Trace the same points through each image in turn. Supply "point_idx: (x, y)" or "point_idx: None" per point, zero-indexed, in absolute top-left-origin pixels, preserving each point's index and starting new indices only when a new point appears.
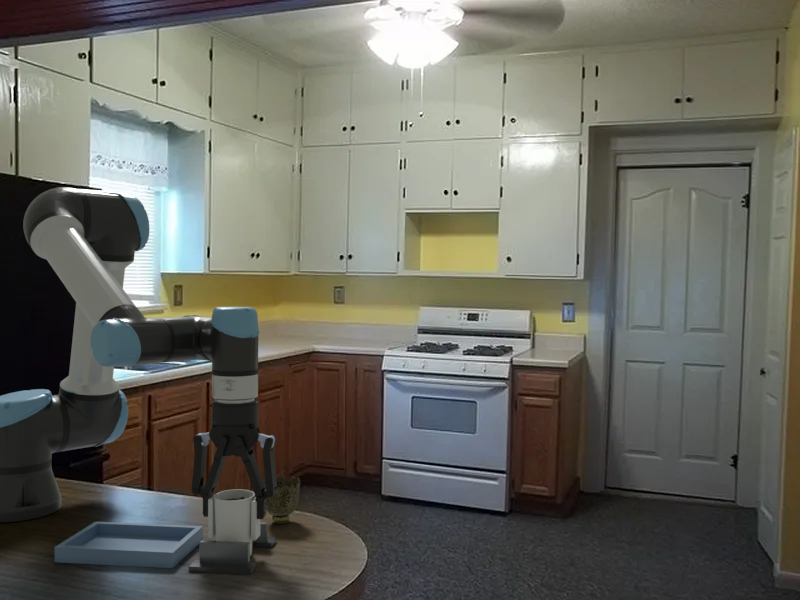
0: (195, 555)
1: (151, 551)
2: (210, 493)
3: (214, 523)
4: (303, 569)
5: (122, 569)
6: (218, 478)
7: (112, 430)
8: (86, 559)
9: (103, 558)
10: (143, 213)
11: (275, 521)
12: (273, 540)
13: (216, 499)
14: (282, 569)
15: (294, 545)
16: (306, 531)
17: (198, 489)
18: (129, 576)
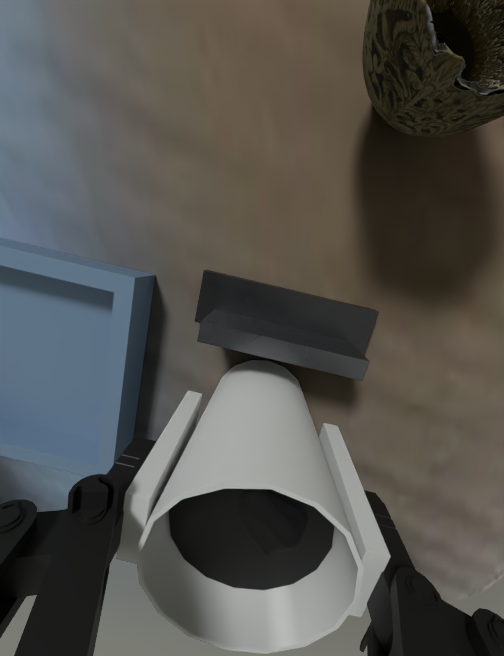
0: (161, 386)
1: (55, 467)
2: (107, 562)
3: (184, 448)
4: (425, 498)
5: None
6: (92, 632)
7: None
8: None
9: None
10: None
11: (387, 124)
12: (368, 340)
13: (161, 610)
14: (376, 492)
15: (425, 345)
16: (485, 218)
17: (22, 600)
18: (56, 480)
